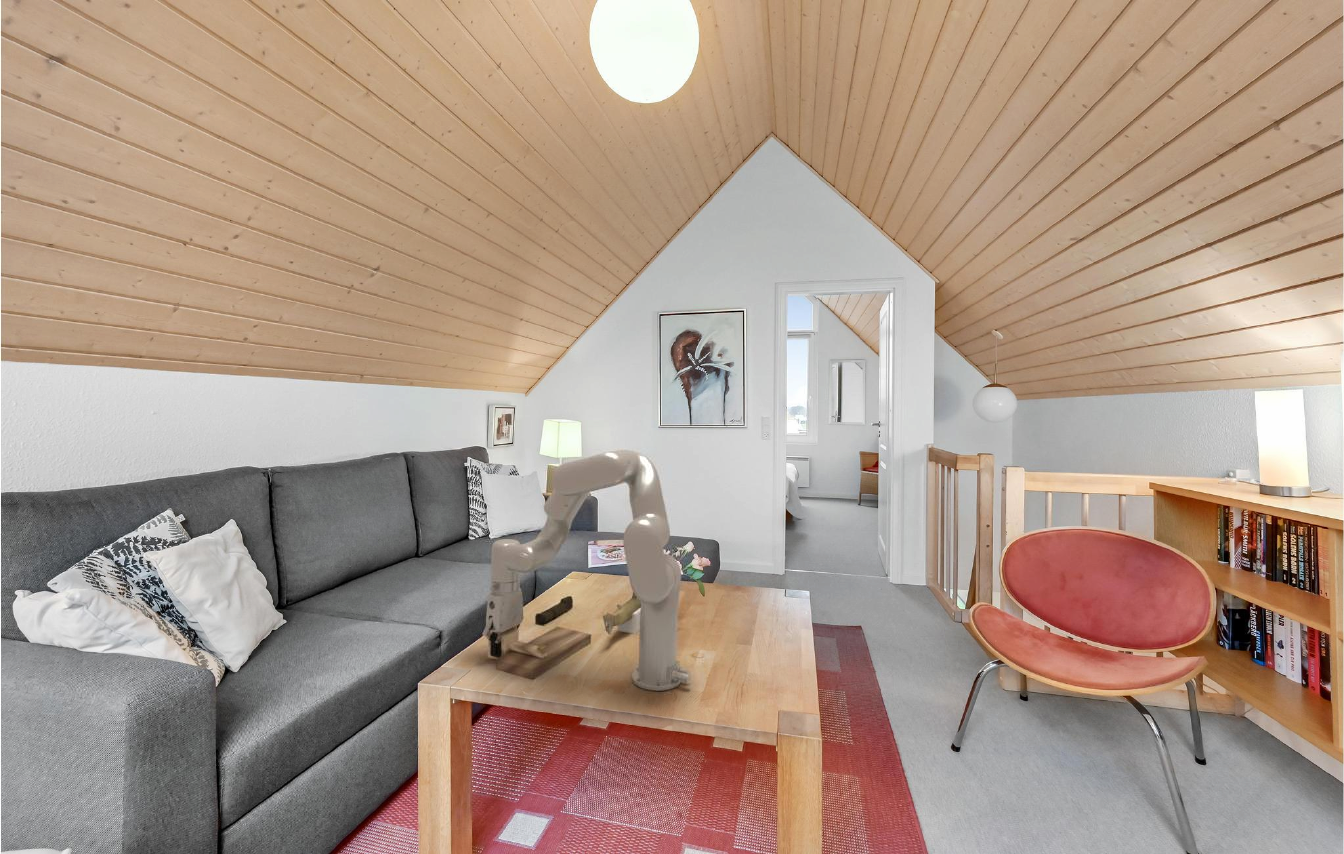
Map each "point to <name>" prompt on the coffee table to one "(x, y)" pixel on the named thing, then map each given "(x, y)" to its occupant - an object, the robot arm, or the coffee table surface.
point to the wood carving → (625, 617)
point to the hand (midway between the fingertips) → (503, 651)
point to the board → (558, 649)
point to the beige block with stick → (517, 645)
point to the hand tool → (554, 611)
